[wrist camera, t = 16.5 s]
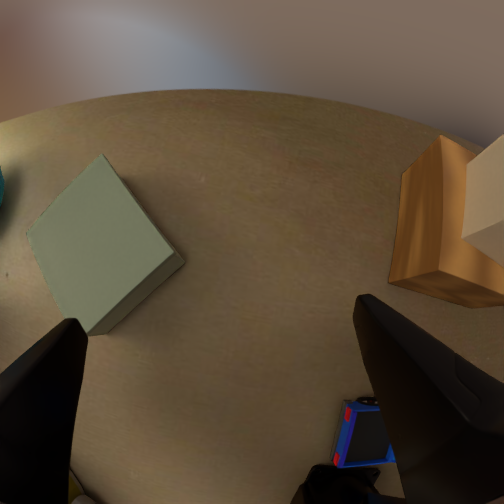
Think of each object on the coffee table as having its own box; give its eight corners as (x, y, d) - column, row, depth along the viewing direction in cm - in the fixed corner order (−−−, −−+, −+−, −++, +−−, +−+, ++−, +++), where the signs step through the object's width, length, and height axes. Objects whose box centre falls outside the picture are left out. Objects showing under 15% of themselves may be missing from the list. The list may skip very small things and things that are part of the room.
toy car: (439, 443, 17) (468, 461, 12) (325, 459, 17) (340, 491, 12) (456, 380, 18) (491, 389, 13) (341, 387, 18) (364, 407, 14)
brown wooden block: (477, 211, 21) (520, 186, 14) (470, 308, 19) (523, 303, 12) (401, 174, 22) (440, 134, 15) (387, 283, 20) (438, 269, 13)
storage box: (189, 262, 21) (174, 252, 17) (105, 338, 19) (78, 341, 15) (122, 174, 22) (102, 152, 18) (52, 244, 21) (25, 233, 17)
